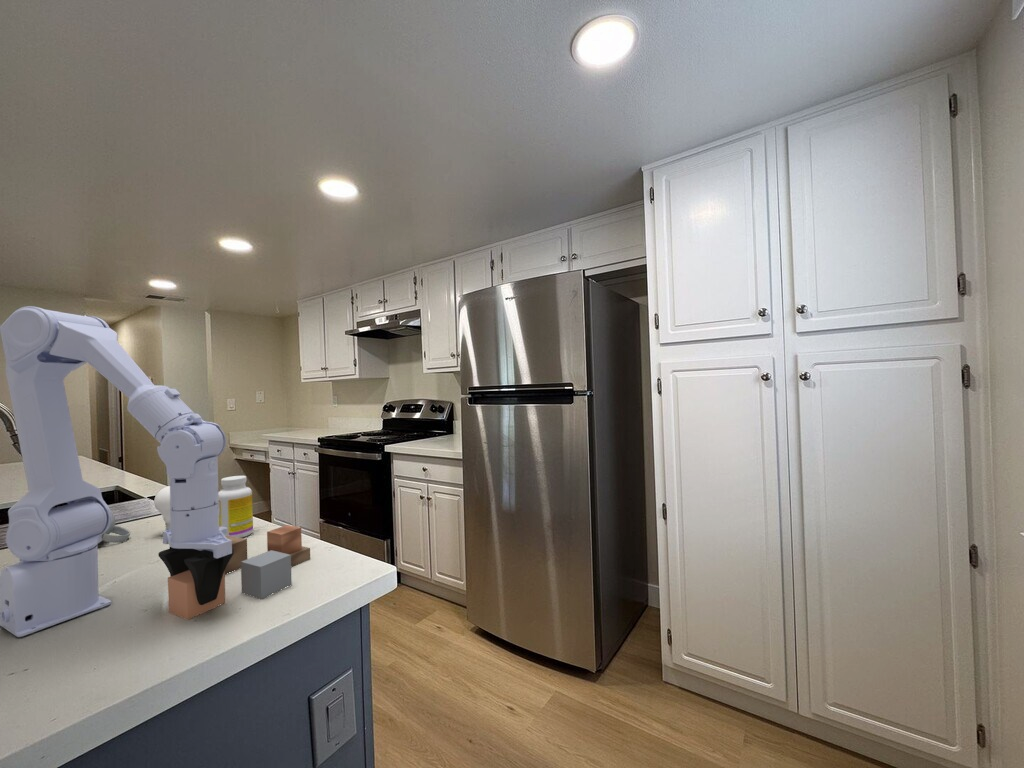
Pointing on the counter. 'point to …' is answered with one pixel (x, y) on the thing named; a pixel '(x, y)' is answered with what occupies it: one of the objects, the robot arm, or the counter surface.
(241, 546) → the walnut base
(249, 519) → the supplement bottle
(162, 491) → the lightbulb
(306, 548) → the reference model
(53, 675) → the counter surface
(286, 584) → the grey block
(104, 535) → the ceramic mug
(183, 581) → the terracotta block
